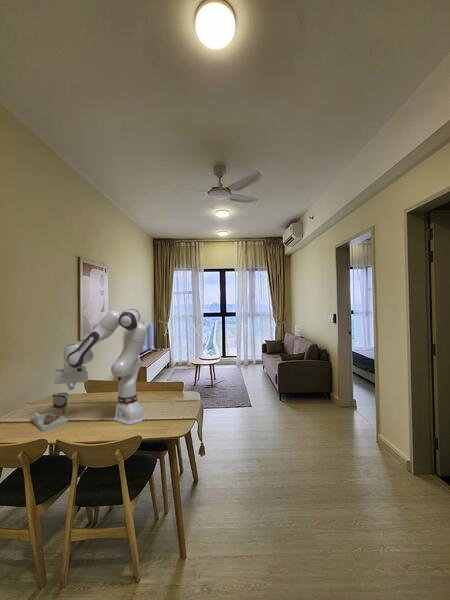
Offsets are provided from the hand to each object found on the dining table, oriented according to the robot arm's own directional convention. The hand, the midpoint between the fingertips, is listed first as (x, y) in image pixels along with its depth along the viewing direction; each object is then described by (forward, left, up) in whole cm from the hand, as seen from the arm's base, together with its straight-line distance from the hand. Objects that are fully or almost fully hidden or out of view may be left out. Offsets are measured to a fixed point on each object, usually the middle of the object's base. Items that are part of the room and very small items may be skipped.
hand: (71, 389), depth 189 cm
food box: (+5, +12, -19) cm, 23 cm away
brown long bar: (+1, +10, -16) cm, 19 cm away
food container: (+28, -3, -19) cm, 34 cm away
